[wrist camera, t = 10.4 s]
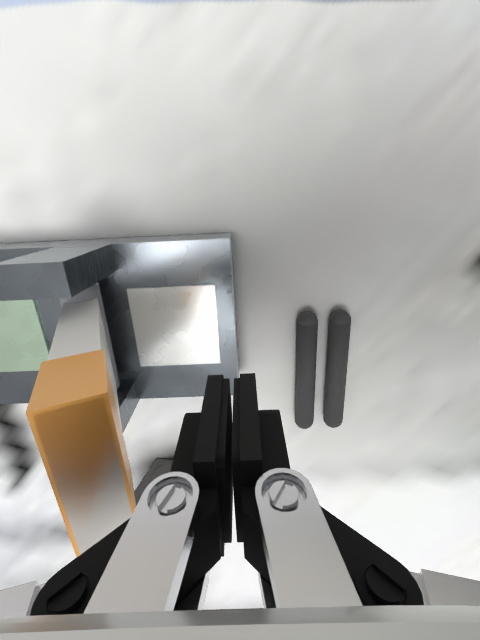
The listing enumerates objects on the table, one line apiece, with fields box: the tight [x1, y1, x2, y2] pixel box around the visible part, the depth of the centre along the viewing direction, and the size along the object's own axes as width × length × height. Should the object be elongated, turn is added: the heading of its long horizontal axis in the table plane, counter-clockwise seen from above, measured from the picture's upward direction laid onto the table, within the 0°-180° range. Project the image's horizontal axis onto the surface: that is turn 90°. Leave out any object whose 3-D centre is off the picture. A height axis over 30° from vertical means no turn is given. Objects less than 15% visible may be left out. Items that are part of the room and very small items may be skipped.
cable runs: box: [295, 310, 351, 429], centre depth 23 cm, size 4×9×1 cm, turn 3°
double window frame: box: [0, 232, 239, 432], centre depth 18 cm, size 20×10×8 cm, turn 93°
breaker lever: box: [26, 283, 136, 557], centre depth 14 cm, size 2×6×12 cm, turn 1°
